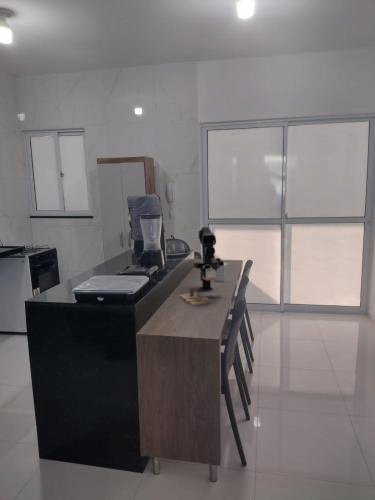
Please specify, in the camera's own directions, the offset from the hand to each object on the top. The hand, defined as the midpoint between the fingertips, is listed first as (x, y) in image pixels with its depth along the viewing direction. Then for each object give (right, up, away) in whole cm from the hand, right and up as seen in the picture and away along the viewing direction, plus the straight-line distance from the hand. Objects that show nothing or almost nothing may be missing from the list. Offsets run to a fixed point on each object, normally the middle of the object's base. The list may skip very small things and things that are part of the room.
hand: (209, 277), depth 235 cm
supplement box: (+12, -5, +41) cm, 43 cm away
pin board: (-9, -13, -5) cm, 17 cm away
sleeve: (0, -1, 0) cm, 1 cm away
